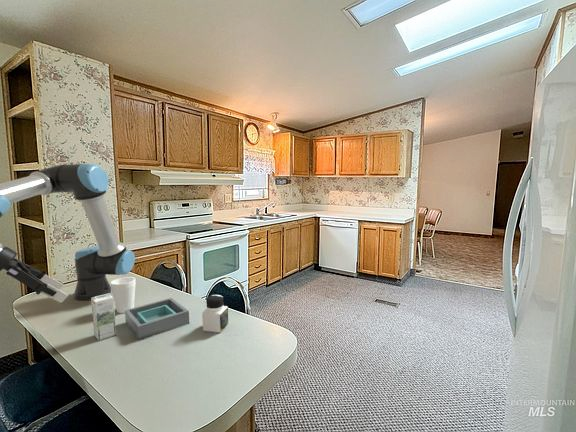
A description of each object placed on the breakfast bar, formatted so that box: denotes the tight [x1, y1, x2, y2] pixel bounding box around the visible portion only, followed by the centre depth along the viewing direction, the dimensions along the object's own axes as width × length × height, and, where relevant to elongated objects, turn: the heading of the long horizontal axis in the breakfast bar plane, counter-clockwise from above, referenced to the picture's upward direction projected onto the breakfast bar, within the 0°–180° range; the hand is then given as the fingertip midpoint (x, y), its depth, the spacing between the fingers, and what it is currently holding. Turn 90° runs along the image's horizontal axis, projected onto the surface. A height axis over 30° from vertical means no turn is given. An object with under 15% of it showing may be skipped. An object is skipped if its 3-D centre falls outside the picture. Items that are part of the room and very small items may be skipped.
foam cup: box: [109, 276, 137, 314], centre depth 128 cm, size 10×9×13 cm
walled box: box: [124, 297, 190, 341], centre depth 116 cm, size 18×18×5 cm
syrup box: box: [90, 293, 117, 342], centre depth 106 cm, size 6×6×14 cm
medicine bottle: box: [201, 294, 229, 334], centre depth 111 cm, size 7×7×12 cm
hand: (62, 293), depth 98 cm, fingers open, 13 cm apart
